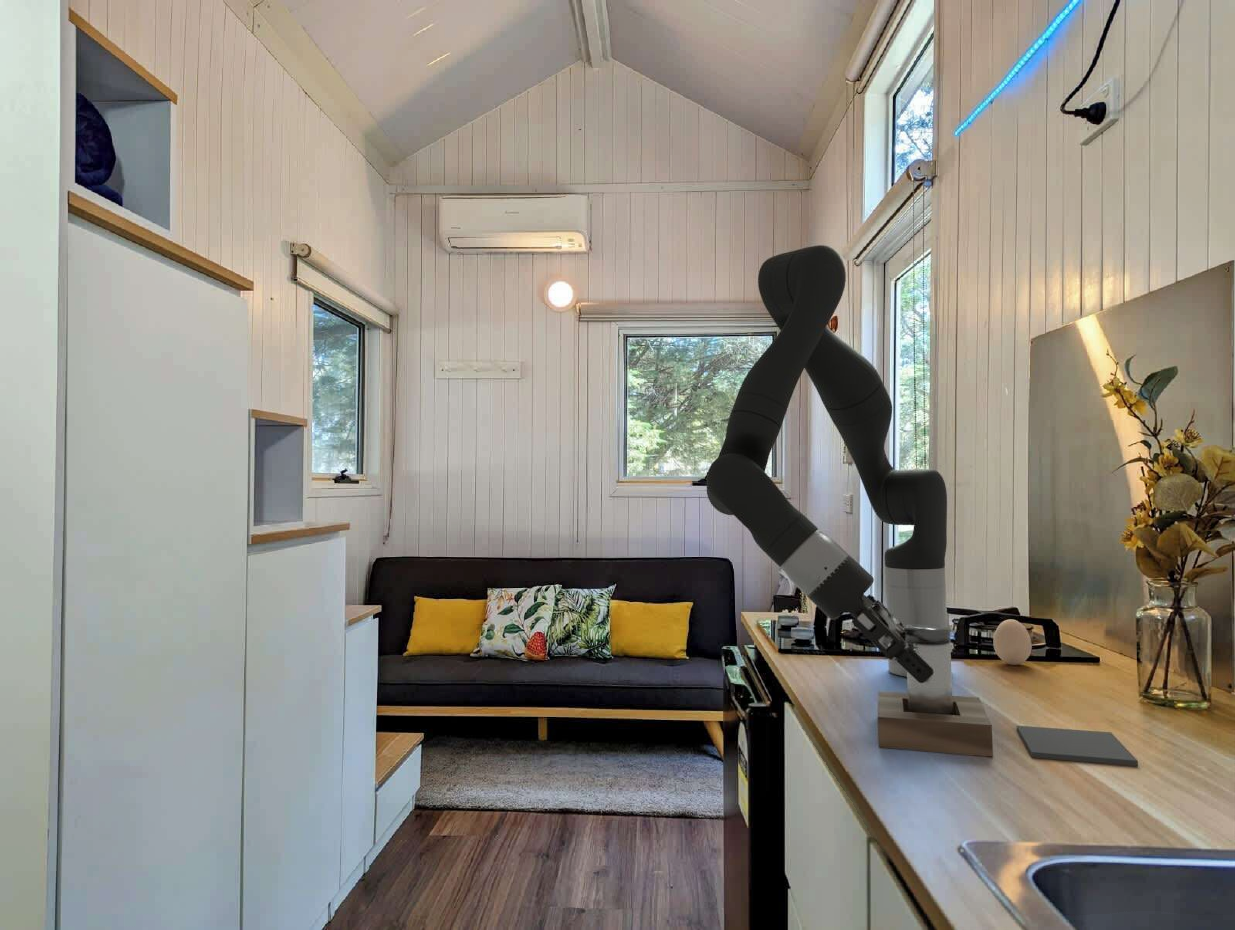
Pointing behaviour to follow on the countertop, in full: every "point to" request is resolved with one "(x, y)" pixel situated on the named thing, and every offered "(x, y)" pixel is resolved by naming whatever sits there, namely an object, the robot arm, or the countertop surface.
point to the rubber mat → (1075, 745)
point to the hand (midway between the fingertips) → (926, 669)
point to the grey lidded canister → (937, 654)
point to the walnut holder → (934, 726)
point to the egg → (1012, 642)
